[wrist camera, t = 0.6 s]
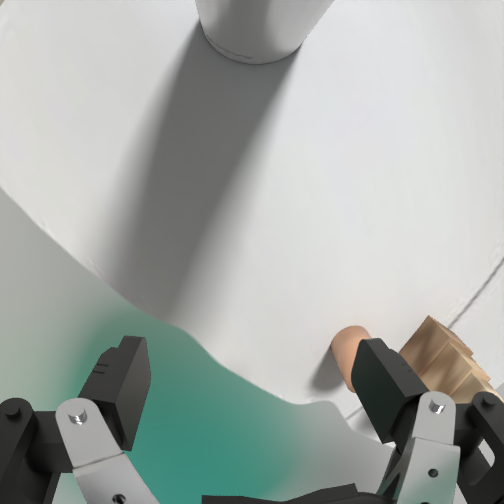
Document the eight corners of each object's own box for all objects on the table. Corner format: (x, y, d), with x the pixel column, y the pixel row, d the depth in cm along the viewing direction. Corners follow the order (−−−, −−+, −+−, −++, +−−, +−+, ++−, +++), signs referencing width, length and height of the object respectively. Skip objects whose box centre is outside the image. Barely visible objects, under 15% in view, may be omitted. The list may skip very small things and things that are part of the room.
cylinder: (348, 319, 31) (368, 353, 25) (376, 334, 32) (397, 366, 26) (322, 350, 32) (337, 387, 27) (351, 363, 33) (368, 397, 28)
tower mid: (448, 341, 27) (472, 367, 23) (469, 355, 29) (490, 378, 24) (414, 381, 29) (433, 410, 24) (438, 390, 30) (456, 416, 26)
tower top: (471, 372, 23) (496, 402, 18) (486, 380, 24) (508, 407, 19) (439, 407, 24) (460, 438, 20) (458, 412, 25) (476, 440, 21)
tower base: (428, 314, 32) (449, 336, 27) (453, 332, 33) (473, 353, 29) (393, 358, 34) (409, 383, 29) (421, 371, 35) (437, 394, 31)
